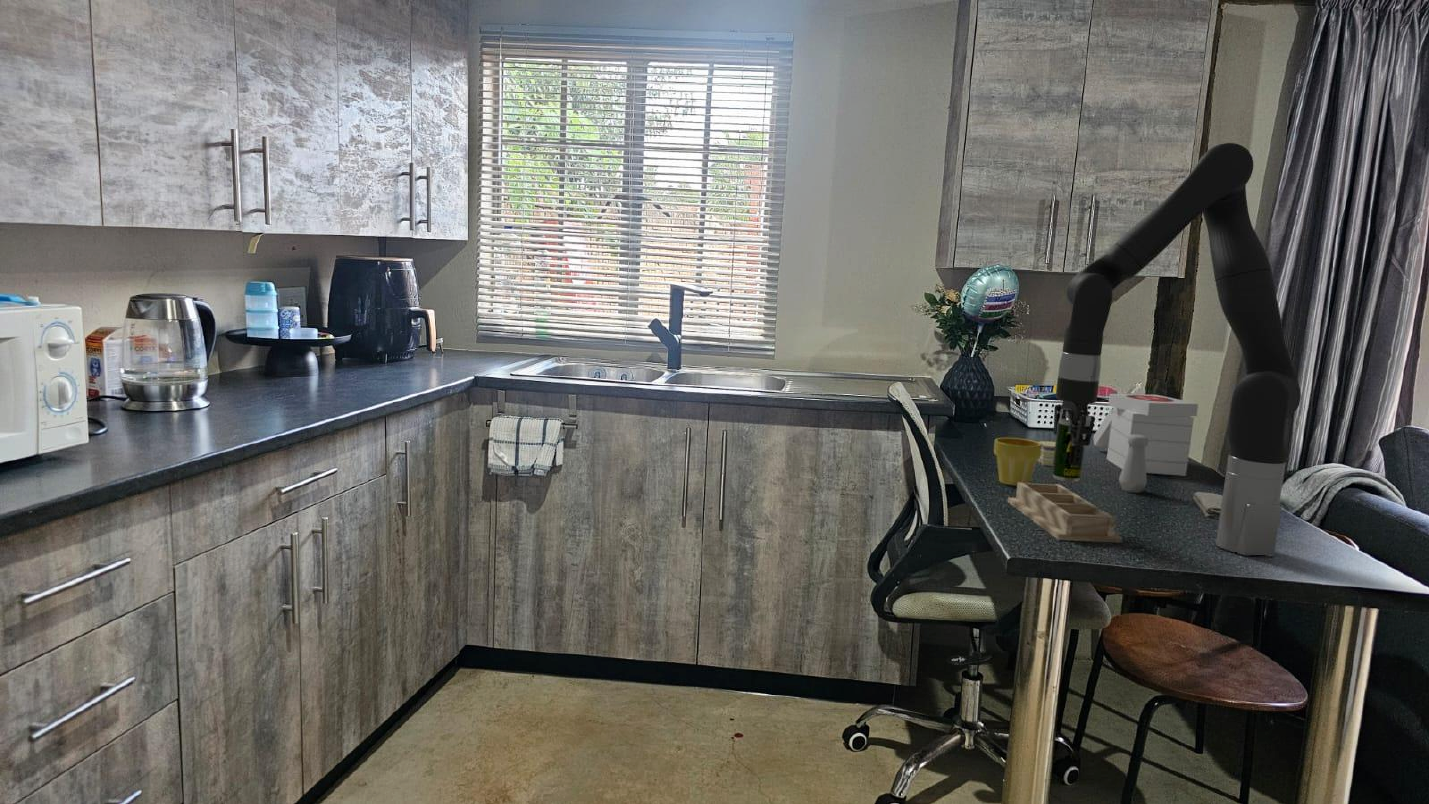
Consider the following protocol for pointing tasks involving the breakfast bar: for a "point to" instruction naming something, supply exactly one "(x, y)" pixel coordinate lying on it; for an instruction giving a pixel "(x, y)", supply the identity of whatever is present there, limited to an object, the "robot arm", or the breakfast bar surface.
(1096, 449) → the breakfast bar surface
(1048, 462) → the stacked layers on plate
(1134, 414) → the pizza boxes
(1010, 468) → the plant pot
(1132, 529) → the breakfast bar surface
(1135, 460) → the salt shaker
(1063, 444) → the beer can
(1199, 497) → the washcloth
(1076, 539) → the wooden compartment organizer
